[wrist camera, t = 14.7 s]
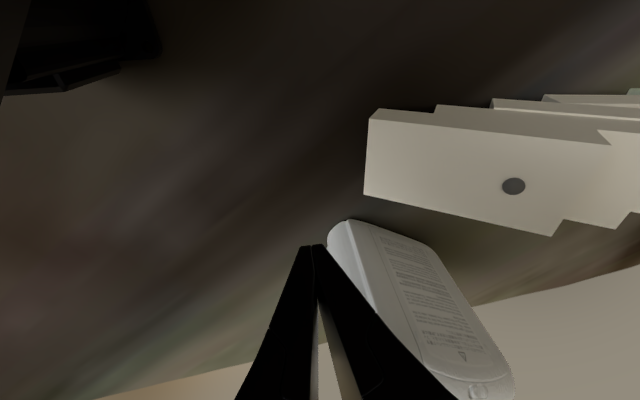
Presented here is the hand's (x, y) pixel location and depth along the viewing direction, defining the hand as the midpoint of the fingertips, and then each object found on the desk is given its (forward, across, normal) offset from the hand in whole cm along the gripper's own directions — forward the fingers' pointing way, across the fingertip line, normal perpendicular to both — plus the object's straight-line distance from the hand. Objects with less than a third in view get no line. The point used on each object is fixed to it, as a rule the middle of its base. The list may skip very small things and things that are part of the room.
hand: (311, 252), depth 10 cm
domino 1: (+8, -4, 0) cm, 9 cm away
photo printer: (+9, -6, +9) cm, 14 cm away
